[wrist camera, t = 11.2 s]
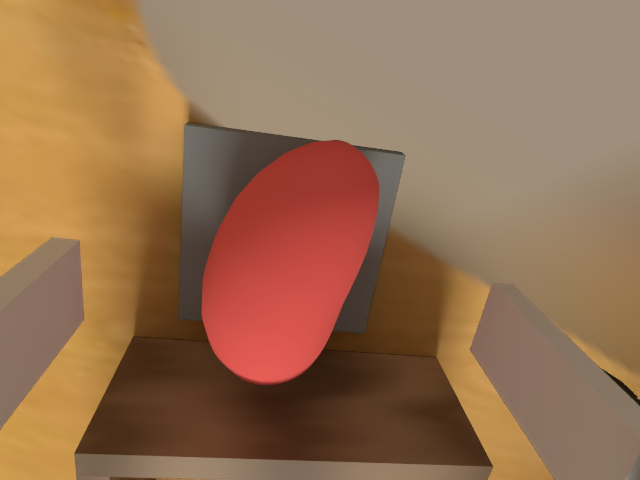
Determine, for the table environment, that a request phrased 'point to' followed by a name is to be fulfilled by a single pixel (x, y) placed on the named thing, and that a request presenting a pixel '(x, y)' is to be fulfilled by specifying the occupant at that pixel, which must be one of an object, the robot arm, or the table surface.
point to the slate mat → (228, 182)
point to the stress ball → (288, 260)
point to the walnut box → (278, 420)
